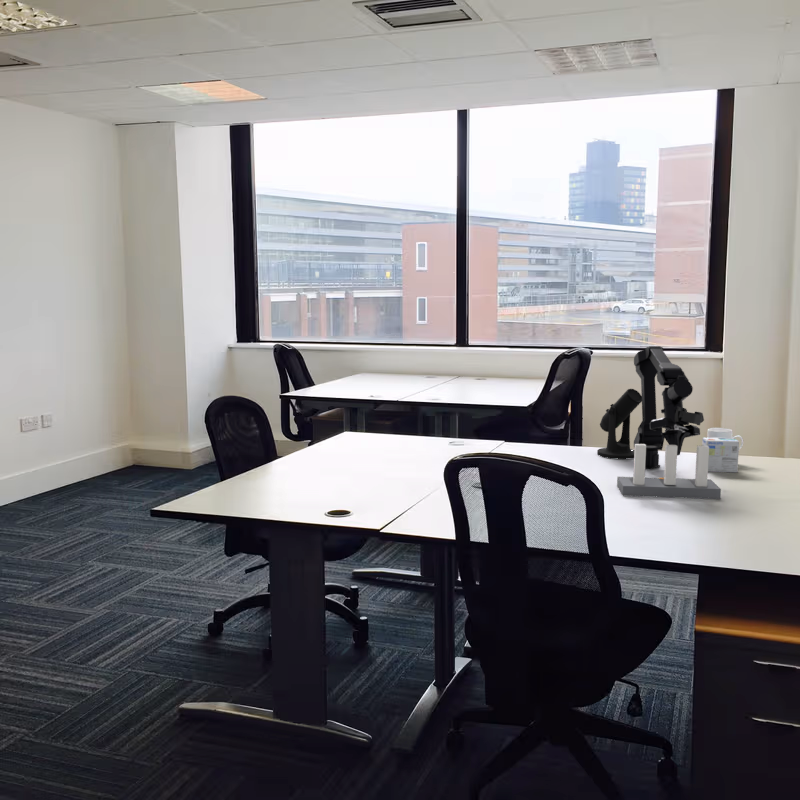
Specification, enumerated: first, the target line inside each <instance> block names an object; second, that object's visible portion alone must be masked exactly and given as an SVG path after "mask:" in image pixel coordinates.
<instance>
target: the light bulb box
mask: <svg viewBox="0 0 800 800" xmlns="http://www.w3.org/2000/svg"><path fill="white" fill-rule="evenodd" d="M701 446H708V447H709V459H708V473H709V472H710V473H711V472H713V473H738V471H739V470H738V469H739V467H738V466H739V453H740V450H739V447H740V441H739V440H738V439H736V438H707V437H702V444H701Z"/></svg>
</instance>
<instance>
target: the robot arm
mask: <svg viewBox="0 0 800 800" xmlns="http://www.w3.org/2000/svg"><path fill="white" fill-rule="evenodd" d="M633 365H634V366H635V372H636V374H637V375H638V376H639V378H640V385H641V386H640V389H641V393H640V394H641V396H642V402H641V411H642V413H641V415H642V416H641V417H642V420H641V422H640V424H639V426H638V428H637V432H636V434H635V436H634V440H633V448H634V449H635V444H645V445H646V460H645V469H649V470H652V469H654V468H655V469H656V468H659V467H661V465H660V464H659V462H660V461H659V460H660V454H659V451H662V450H663V449H664V443H665V440H666V442H667V445H677V446H678V447H677V457H678V456H681V451H682V447H683V443H684V441H685V439H686V438H691V437H696V436H700V435H701V428H699V427H698V426H701V423H703V422H704V421H705V419H704V414H703V412H700V411H694V412H689V411H688V409H687V408H685V407H684V403H683V401H685V399H686V398H688V397H689V396H691V395H692V393H693V390H694V387H693V385H692V384H691V382H690V381H689V380H690V379H688V377H687V376H686V373H685V371H683V369H682V368H681V367H680V366H679V365H678V364H675V363H673V362H671V360H670V359H669V357H668V356H667V355H666V353H665V352H664V348H663V346H659V345H649V346H647V347H645V349H643V350H639V351H638V352H636V354H635V355H634V358H633ZM656 380H657V382H658V384H659V385H660V386H668V387H664V389H663V391H662V392H661V396H662V401H663V408H662V409H660V413H661V414H663V416H664V417H660V418H657V399H656V398H657V396H656ZM694 424H695V425H694ZM663 429H664V432H663Z"/></svg>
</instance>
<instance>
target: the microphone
mask: <svg viewBox="0 0 800 800" xmlns="http://www.w3.org/2000/svg"><path fill="white" fill-rule="evenodd" d="M641 404H642V394H641V393H640V392H639V391H638V390H636V389H634V388H628V389H626V391H625V392H624V393H622V395H621V396H620V397H619V398H618V399H617V400H616V402H614V403H611V404H610V407H609V408H607V409H606V410H605V413H604V415H603V416H602V417H601V420H600V423H599V427H600V428H601V429H602V430H603V432H606V433H607V443H606V447H602V448H599V449H597V456H599V455H600V456H599V457H601V456H602V457H601V458H605V457H608V458H607V459H611V458H618V459H617V460H627V459H626V458H634V449H632V448H631V441H630V440H631V438H630V436H631V435H630V428H631V426H630V425H631V414H632V413H633V412H634V410H635V409H636V408H637V407H638V406H640V405H641ZM621 425H622V428H621V435H620V439H619V440H618V441H617V435H616V433H617V432H616V429H618V427H620V426H621ZM631 450H633V451H631Z"/></svg>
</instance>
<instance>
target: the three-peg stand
mask: <svg viewBox="0 0 800 800" xmlns="http://www.w3.org/2000/svg"><path fill="white" fill-rule="evenodd" d="M633 450H634V459H633V476H617V479H616V487H617V489H618V488H619V489H618V491H619V493H620V494H621V496H622V495H623V496H624V497H645V496H655V497H656V496H657V497H656V498H675V497H684V498H685V497H687V498H685V499H704V500H705V499H709V500H712V499H713V500H721V495H722V494H721V493H722V488H721V487H720V486H718V485H717V484H716V483H715V482H714V480H712V478H711V479H708V474H709V472H708V459H709V447H708V446H702V445H696V456H695V457H696V458H695V475H694V476H695V477H694V478H677V477H676V485H665V484H664V477H645V476H646V468H645V460H646V445H645V444H635V448H634V449H633ZM655 497H654V498H655ZM684 498H683V499H684Z"/></svg>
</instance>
